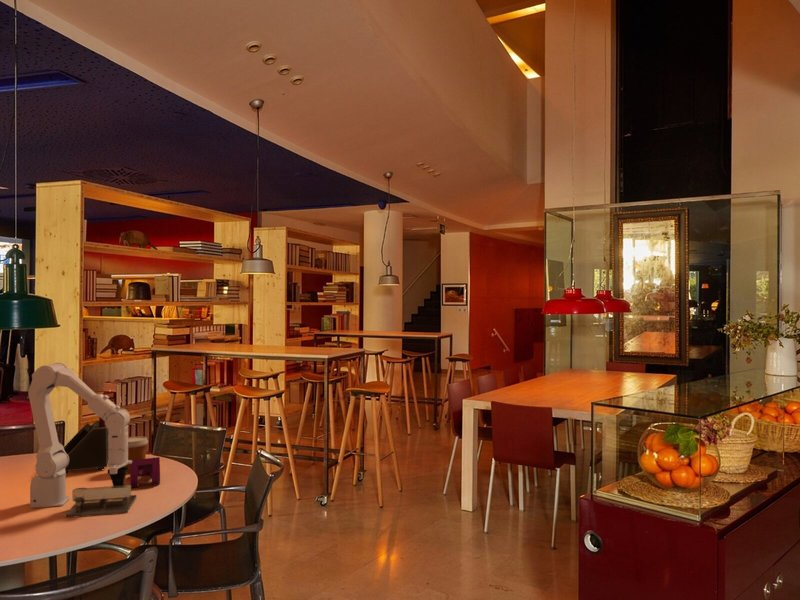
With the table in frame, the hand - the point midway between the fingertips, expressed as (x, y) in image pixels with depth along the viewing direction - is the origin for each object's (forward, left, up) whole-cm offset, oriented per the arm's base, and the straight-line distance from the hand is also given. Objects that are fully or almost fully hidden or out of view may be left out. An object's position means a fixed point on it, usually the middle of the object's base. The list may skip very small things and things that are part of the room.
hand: (118, 490), depth 195 cm
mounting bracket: (+4, +22, -4) cm, 23 cm away
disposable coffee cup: (-2, +36, -4) cm, 36 cm away
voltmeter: (-22, +46, -4) cm, 51 cm away
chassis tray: (-4, -5, -3) cm, 7 cm away
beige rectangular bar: (-4, -5, 0) cm, 6 cm away
